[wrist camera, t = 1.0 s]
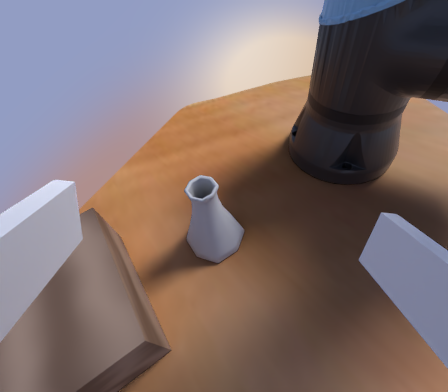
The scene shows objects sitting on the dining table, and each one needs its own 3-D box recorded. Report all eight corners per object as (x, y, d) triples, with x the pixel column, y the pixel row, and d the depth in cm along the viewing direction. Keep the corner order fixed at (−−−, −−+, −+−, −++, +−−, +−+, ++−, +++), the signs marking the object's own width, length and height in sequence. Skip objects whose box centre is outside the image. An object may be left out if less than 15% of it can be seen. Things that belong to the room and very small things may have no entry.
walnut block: (120, 236, 33) (92, 207, 27) (171, 349, 24) (145, 340, 19) (38, 285, 30) (-12, 263, 25) (61, 434, 21) (-9, 453, 16)
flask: (177, 242, 31) (149, 195, 24) (212, 204, 35) (198, 152, 27) (219, 274, 28) (204, 233, 20) (254, 230, 31) (253, 179, 23)
